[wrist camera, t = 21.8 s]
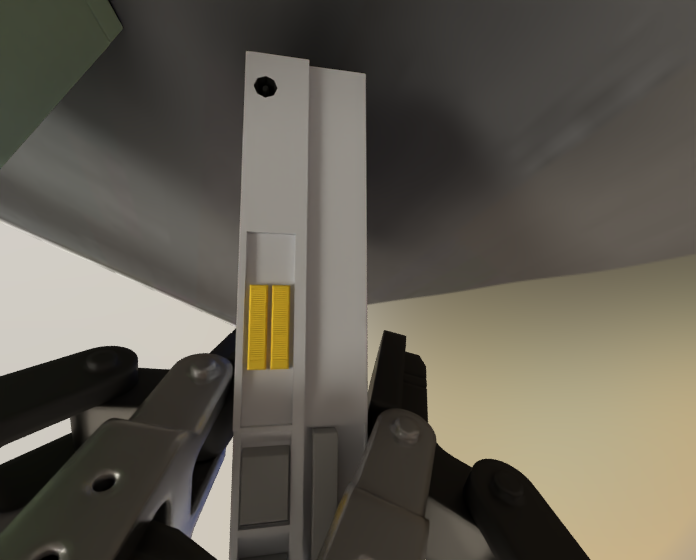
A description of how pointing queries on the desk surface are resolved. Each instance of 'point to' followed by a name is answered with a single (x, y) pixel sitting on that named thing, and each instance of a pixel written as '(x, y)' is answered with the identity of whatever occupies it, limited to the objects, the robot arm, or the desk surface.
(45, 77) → the bin
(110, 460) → the robot arm
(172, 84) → the desk surface
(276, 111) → the walkman
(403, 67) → the desk surface
